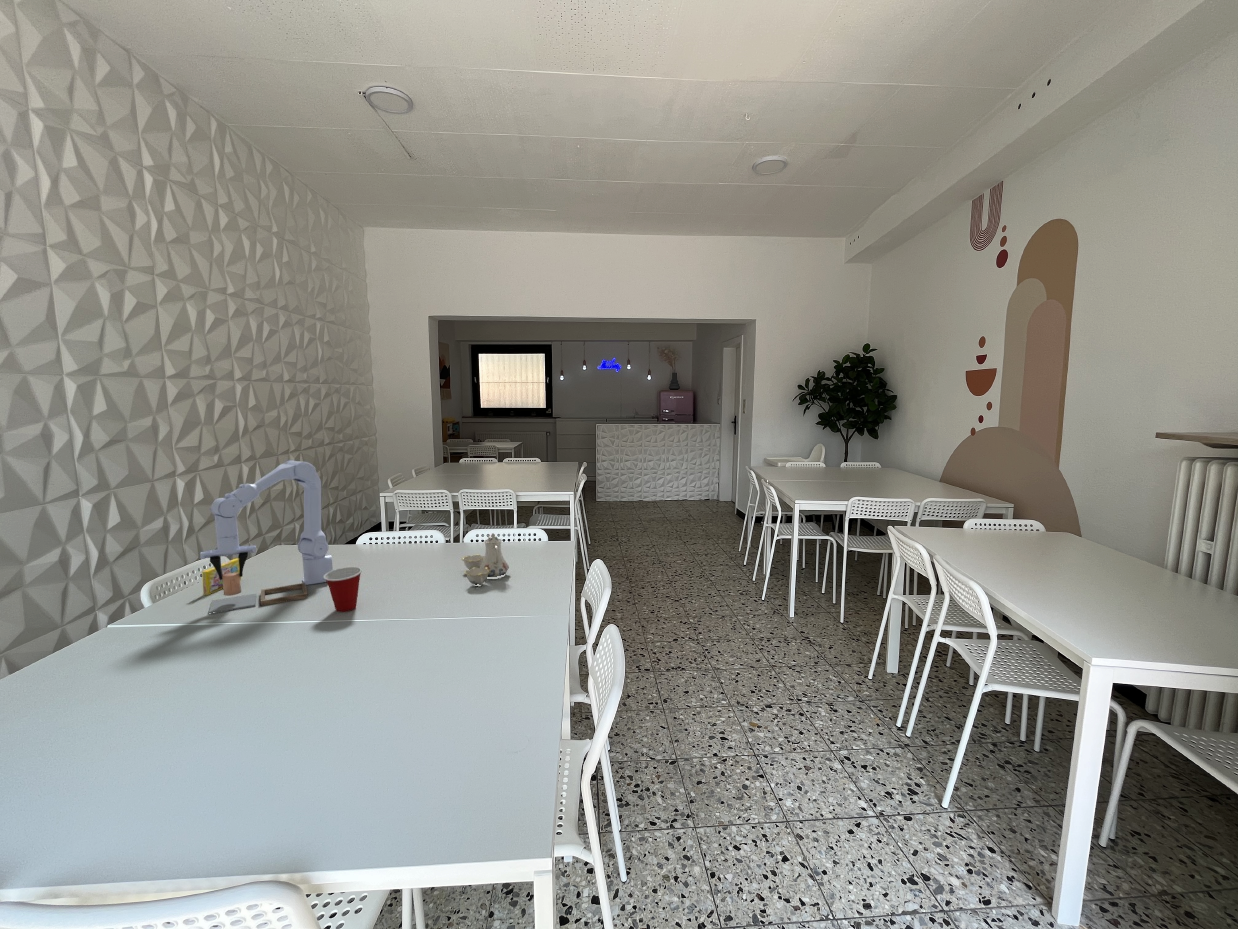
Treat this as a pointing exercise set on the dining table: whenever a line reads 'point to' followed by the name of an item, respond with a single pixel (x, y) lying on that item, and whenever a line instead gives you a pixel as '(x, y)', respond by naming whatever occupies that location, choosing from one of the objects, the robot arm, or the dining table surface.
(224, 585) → the peach rounded block
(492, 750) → the dining table surface
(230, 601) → the grey mat
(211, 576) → the candy box
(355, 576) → the plastic cup
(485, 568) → the chinaware
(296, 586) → the frame
